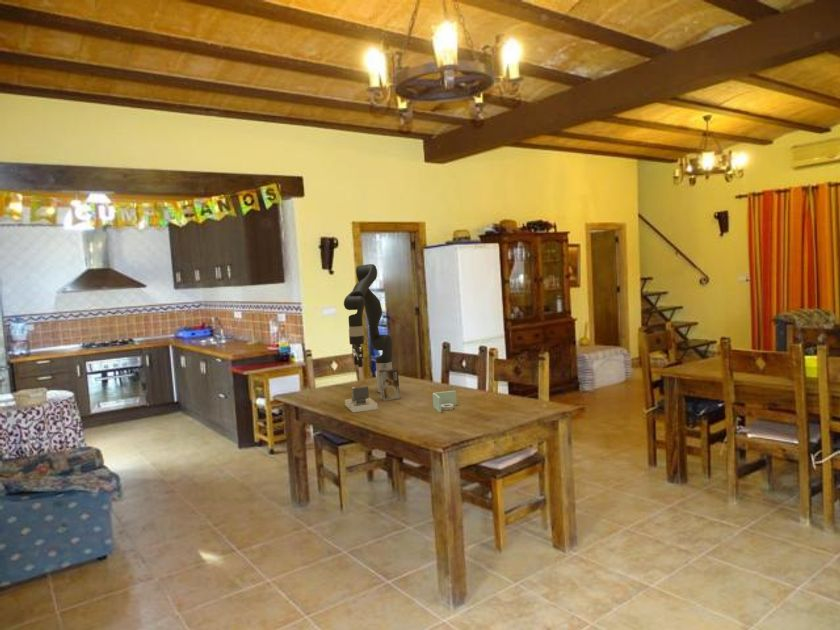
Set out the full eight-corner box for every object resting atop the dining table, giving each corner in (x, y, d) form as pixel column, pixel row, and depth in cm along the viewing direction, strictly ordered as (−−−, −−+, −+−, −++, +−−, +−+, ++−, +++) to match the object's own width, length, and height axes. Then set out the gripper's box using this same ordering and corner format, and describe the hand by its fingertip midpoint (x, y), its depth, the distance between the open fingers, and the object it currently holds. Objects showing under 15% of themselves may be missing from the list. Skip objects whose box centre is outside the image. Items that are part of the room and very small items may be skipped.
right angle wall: (439, 413, 293) (438, 397, 292) (433, 407, 305) (432, 392, 304) (463, 410, 296) (462, 395, 295) (456, 404, 308) (455, 390, 307)
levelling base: (368, 402, 324) (368, 392, 324) (377, 409, 307) (376, 398, 307) (345, 405, 320) (344, 395, 320) (352, 412, 303) (352, 401, 303)
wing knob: (367, 399, 316) (366, 384, 315) (369, 401, 311) (368, 386, 311) (352, 401, 314) (351, 386, 313) (354, 403, 309) (353, 388, 308)
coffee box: (396, 396, 334) (394, 368, 333) (400, 398, 328) (398, 369, 327) (380, 398, 331) (378, 370, 329) (384, 401, 325) (382, 371, 323)
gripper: (366, 335, 304) (368, 367, 305) (360, 332, 317) (362, 363, 319) (352, 336, 302) (354, 368, 303) (346, 334, 315) (348, 364, 316)
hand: (358, 365), depth 311 cm, fingers open, 8 cm apart
